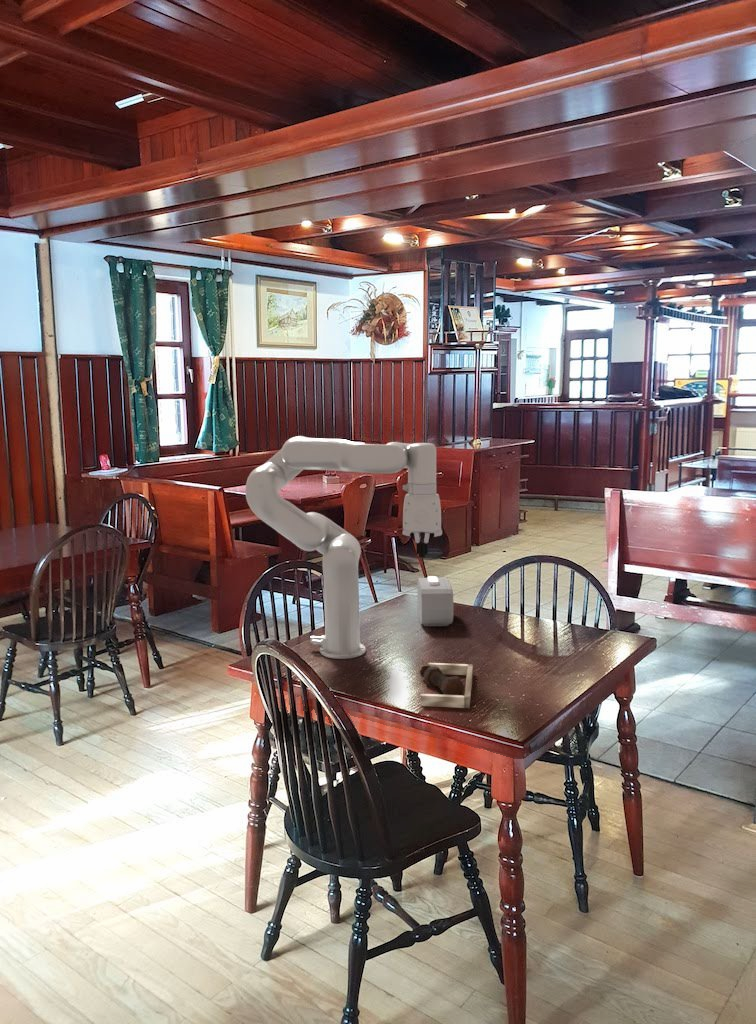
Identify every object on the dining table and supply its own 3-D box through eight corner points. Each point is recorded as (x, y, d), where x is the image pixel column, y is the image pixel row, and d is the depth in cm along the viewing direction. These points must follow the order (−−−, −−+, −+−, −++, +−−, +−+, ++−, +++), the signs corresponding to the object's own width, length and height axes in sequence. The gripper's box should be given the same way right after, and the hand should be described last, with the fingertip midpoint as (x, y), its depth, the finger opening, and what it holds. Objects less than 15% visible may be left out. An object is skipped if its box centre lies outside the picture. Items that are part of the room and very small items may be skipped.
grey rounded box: (453, 630, 245) (453, 587, 243) (421, 630, 245) (421, 587, 243) (446, 611, 266) (446, 571, 264) (417, 611, 266) (417, 571, 263)
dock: (420, 705, 189) (420, 695, 188) (428, 671, 210) (428, 662, 210) (469, 708, 187) (469, 697, 187) (472, 673, 209) (472, 664, 208)
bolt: (427, 685, 207) (457, 704, 193) (412, 678, 205) (440, 696, 191) (437, 664, 207) (467, 681, 194) (422, 656, 205) (451, 674, 192)
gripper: (392, 491, 215) (393, 559, 218) (449, 491, 213) (449, 560, 216) (396, 487, 223) (396, 553, 226) (451, 487, 221) (450, 554, 223)
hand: (422, 556), depth 221 cm, fingers closed
